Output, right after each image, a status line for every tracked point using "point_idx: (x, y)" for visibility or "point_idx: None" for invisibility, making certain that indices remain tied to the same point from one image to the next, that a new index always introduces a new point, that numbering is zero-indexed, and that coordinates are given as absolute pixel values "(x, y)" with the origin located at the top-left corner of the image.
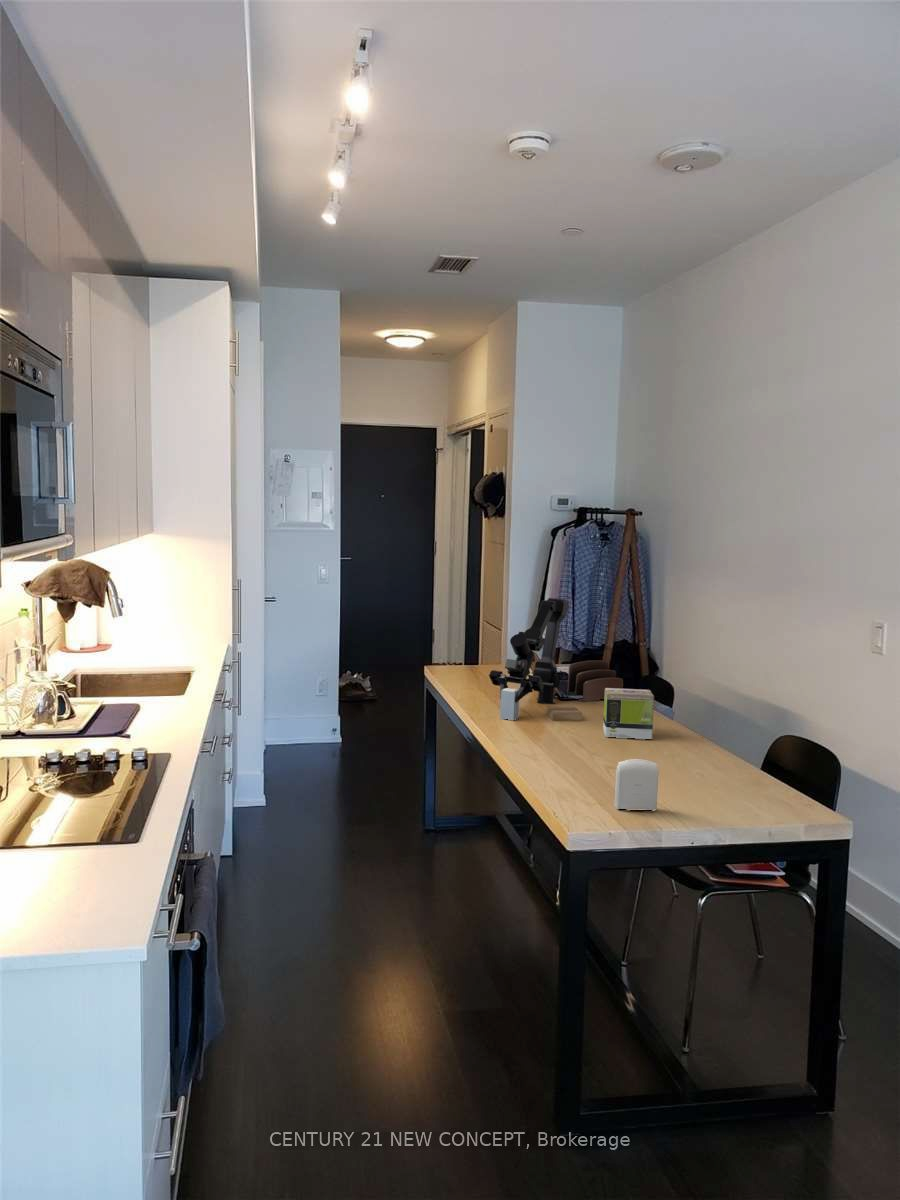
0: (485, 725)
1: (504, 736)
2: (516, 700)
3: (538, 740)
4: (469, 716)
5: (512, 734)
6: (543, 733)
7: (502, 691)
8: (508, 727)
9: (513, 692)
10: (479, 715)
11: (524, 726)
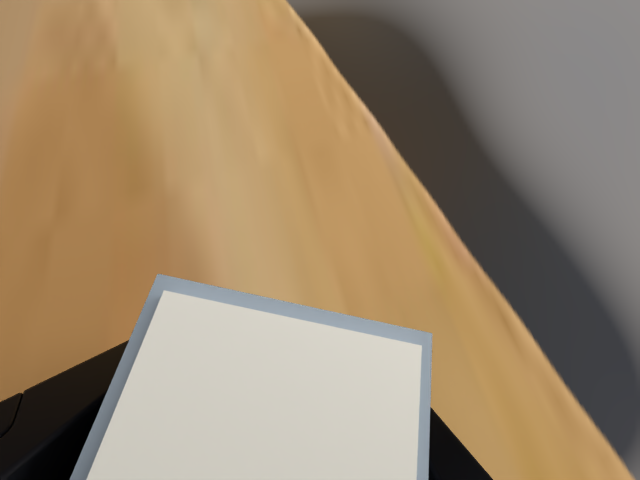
0: (362, 175)
1: (230, 40)
2: None
3: (63, 18)
4: (525, 338)
5: (197, 71)
6: (15, 123)
7: (398, 329)
8: (235, 177)
9: (184, 281)
10: (491, 403)
11: (136, 231)
